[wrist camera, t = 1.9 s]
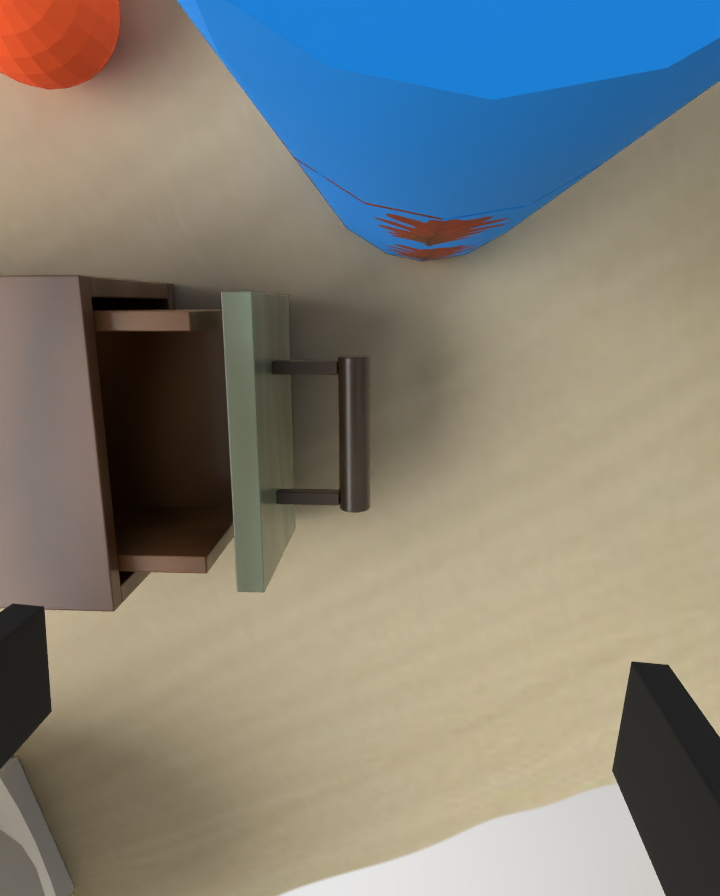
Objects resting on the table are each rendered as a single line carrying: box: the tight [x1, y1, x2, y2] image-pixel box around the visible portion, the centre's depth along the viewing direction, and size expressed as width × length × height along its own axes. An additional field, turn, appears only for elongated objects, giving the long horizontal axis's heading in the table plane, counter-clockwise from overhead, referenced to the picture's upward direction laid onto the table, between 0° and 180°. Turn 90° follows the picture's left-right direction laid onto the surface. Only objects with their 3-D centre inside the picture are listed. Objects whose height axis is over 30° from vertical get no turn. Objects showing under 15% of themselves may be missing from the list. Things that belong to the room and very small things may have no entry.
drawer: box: [93, 291, 370, 592], centre depth 29 cm, size 18×12×8 cm
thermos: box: [177, 0, 720, 261], centre depth 18 cm, size 11×11×25 cm
